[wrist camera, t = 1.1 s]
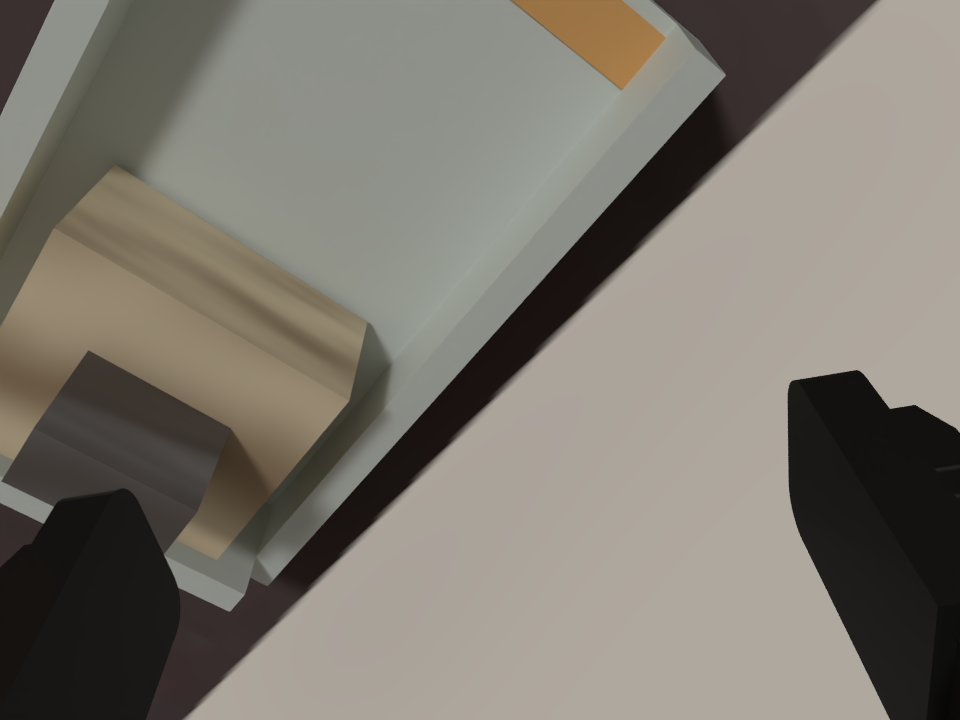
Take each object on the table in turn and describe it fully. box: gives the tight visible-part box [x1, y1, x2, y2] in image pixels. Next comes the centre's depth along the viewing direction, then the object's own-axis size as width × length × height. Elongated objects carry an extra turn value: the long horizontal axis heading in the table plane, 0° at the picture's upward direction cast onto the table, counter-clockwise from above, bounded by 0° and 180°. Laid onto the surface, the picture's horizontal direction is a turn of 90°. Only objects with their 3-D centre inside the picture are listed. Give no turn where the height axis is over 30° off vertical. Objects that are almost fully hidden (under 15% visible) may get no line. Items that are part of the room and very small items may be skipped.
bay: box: [0, 0, 726, 612], centre depth 30 cm, size 26×16×6 cm, turn 143°
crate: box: [0, 165, 367, 560], centre depth 30 cm, size 9×10×9 cm
